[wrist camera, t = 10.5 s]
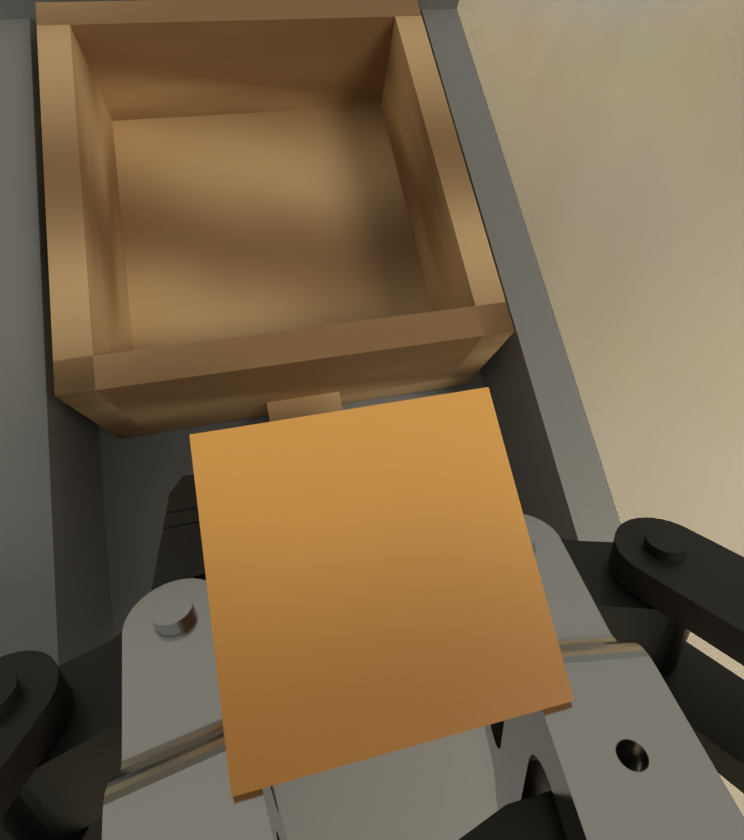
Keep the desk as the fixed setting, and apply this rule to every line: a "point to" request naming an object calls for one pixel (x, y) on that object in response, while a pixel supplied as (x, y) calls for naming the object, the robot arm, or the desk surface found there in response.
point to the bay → (171, 450)
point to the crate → (299, 358)
